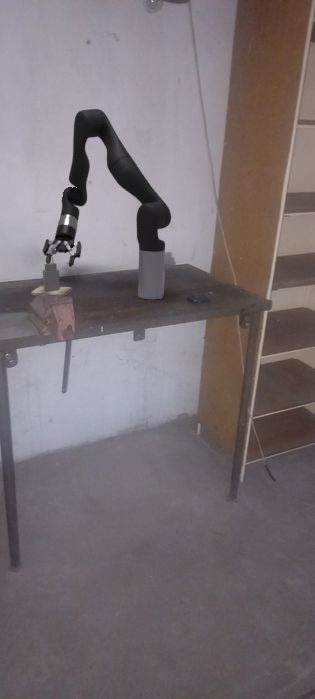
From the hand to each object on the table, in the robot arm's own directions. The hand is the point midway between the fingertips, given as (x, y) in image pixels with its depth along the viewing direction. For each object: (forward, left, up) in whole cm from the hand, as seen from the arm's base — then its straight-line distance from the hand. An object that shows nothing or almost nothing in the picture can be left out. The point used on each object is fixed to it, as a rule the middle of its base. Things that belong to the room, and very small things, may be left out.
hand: (59, 264), depth 196 cm
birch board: (0, +10, -8) cm, 13 cm away
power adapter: (0, +10, -7) cm, 12 cm away
